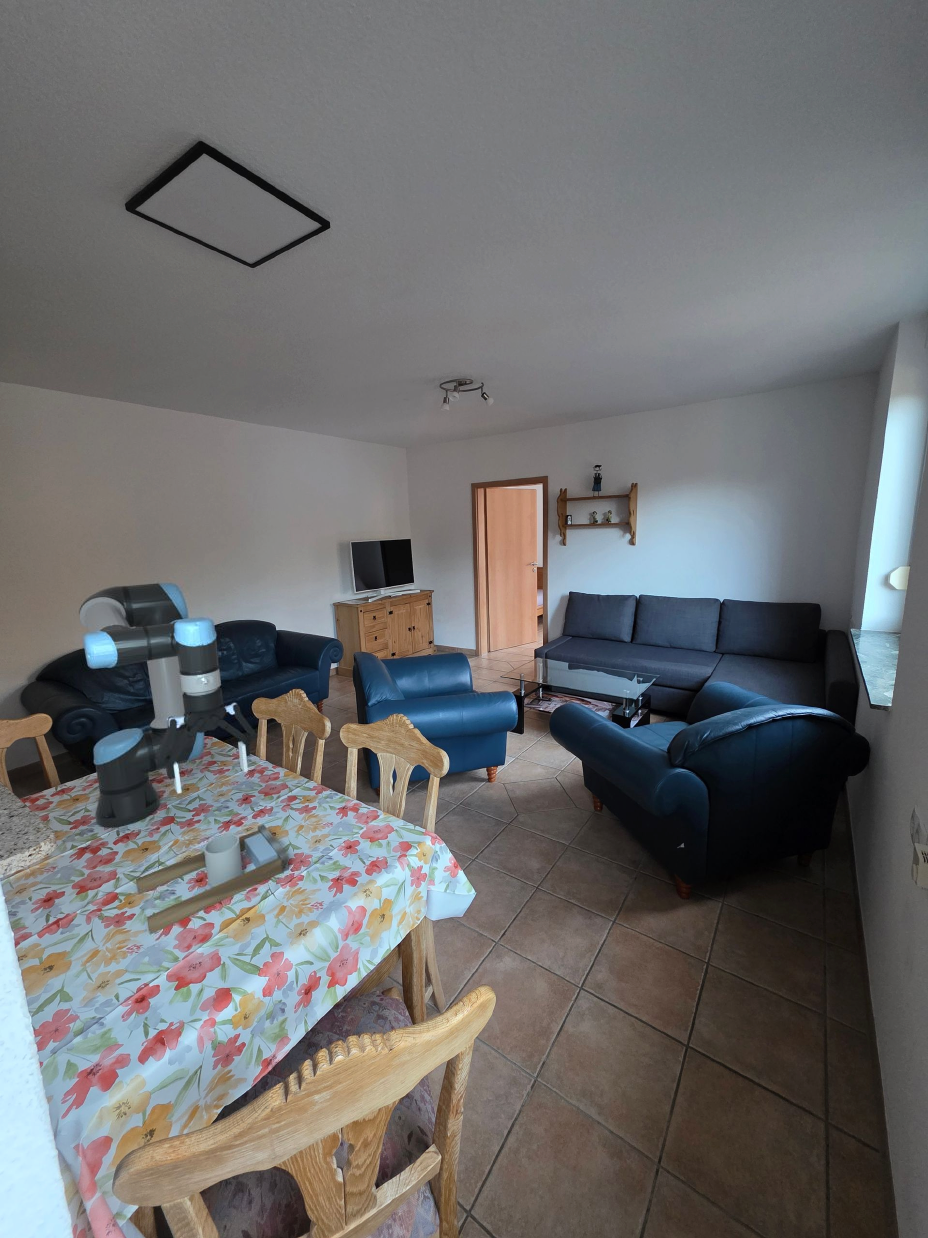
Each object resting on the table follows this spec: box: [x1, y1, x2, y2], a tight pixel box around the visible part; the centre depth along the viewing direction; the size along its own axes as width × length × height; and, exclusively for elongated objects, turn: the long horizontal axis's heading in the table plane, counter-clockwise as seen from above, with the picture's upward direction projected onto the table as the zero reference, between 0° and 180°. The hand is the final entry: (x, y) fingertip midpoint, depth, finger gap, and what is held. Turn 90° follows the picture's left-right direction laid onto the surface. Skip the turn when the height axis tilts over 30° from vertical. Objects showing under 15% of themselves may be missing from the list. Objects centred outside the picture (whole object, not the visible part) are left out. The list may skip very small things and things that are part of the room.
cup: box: [203, 833, 243, 888], centre depth 113 cm, size 7×10×9 cm
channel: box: [135, 823, 289, 935], centre depth 111 cm, size 16×28×4 cm, turn 131°
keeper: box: [244, 833, 278, 868], centre depth 118 cm, size 11×4×4 cm
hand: (212, 780), depth 109 cm, fingers open, 13 cm apart
